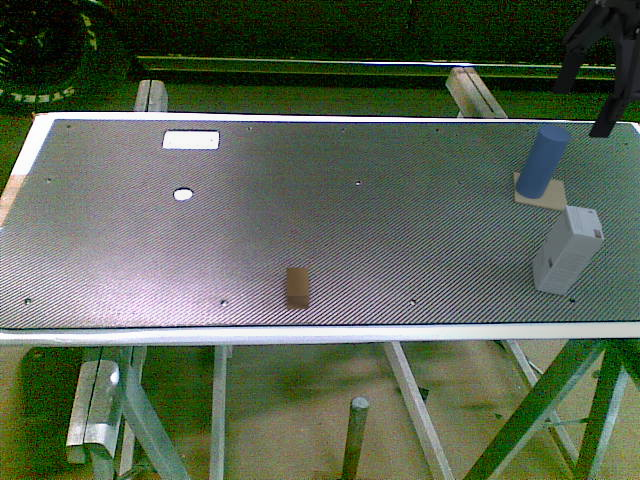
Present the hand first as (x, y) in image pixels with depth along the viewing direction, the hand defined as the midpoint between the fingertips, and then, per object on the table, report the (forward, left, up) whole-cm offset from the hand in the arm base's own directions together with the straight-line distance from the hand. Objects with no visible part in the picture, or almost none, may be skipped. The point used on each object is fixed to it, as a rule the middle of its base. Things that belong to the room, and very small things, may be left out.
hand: (577, 113), depth 75 cm
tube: (+2, +1, -10) cm, 10 cm away
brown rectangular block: (-36, +35, -16) cm, 53 cm away
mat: (0, 0, -16) cm, 16 cm away
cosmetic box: (-22, 0, -16) cm, 27 cm away
